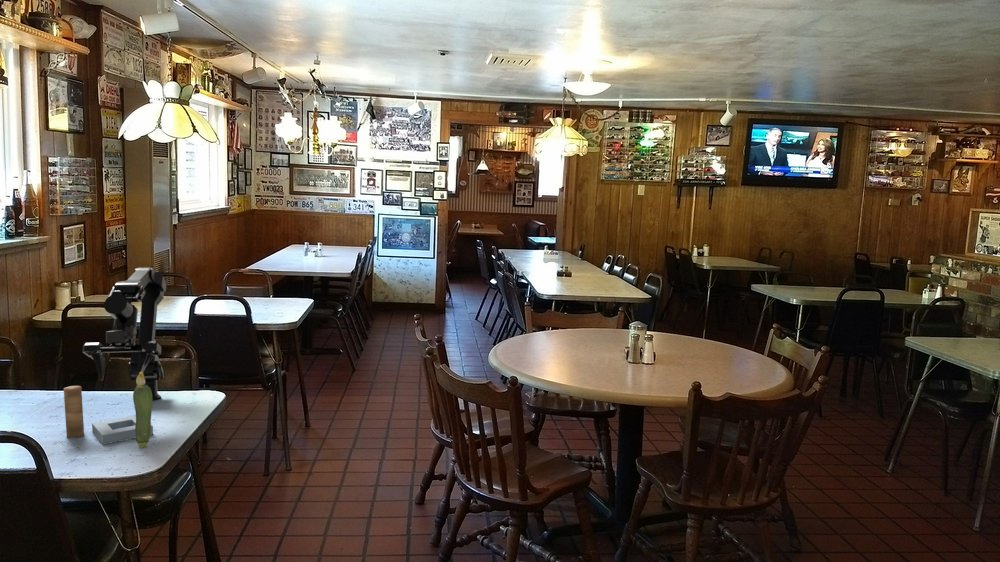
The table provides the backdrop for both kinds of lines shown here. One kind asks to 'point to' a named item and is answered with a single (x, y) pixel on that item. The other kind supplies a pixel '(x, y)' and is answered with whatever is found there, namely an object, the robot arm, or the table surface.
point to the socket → (116, 429)
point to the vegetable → (142, 411)
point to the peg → (73, 411)
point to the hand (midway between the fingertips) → (120, 379)
